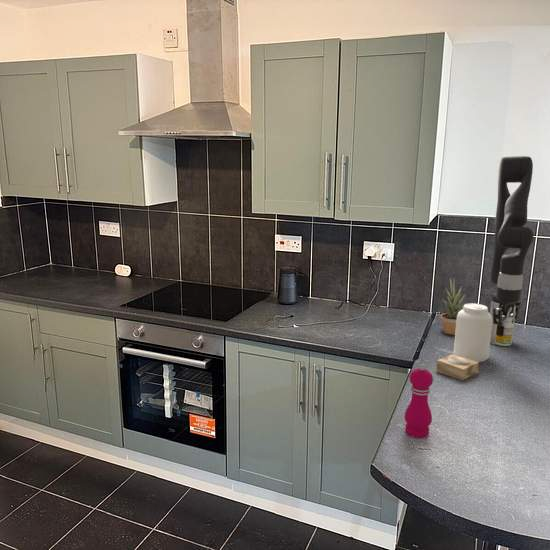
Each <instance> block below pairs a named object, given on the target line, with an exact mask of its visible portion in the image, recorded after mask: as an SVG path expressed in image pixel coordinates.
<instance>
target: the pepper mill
mask: <svg viewBox="0 0 550 550" xmlns="http://www.w3.org/2000/svg"><path fill="white" fill-rule="evenodd" d="M433 377H434V376H433V374H432V373H431V371H429V370H428V369H426V365H425V364H424V363H421V364H419V365H418V368H415V369H413V370H412V371H411V373H409V382H410V384H411V385H410V391H411V400H410V402H409V405H408V406H407V407H406V410H405V413H404V420H405V422H406V423H405V429H404V430H405V433H406V434H407V435H408V436H409V437H413V438H414V439H415V438H416V439H424V438H426V437H428V436H429V434H430V425H432V422H433V416H432V411H431V408H430V406H429V402H428V400H429V399H428V396H429V394H430V393H431V391H430V390H431V386H432V384H433V382H434V378H433Z"/></svg>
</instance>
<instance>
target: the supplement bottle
mask: <svg viewBox="0 0 550 550" xmlns="http://www.w3.org/2000/svg"><path fill="white" fill-rule="evenodd" d="M502 316H503V315H502ZM503 317H505V316H503ZM502 321H503V319H502ZM513 328H514V329H515V323H514V324H513V323H512V316H510V315H509V317H508V319H507V320H506V321H505V325H504V334H503V336H498V335H496V333H495V343H496V344H498V345H503V346H502V347H508V346H511V345H512V344H513V338H512V336H514V330H513ZM496 330H497V325H496ZM498 345H497V346H498Z"/></svg>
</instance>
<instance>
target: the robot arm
mask: <svg viewBox="0 0 550 550" xmlns="http://www.w3.org/2000/svg"><path fill="white" fill-rule="evenodd" d="M533 167H534V163H533V158H531V157H530V156H526V155H523V156H519V155H518V156H515V155H514V156H503V157H501V158H500V160H499V163H498V169H497V171H498V172H497V202H496V203H497V204H496V211H495V220H494V221H495V222H494V237H493V238H494V240H493V241H494V242H493V252H492V259H491V266H490V275H489V276H490V277H489V278H490V283H492V284H494V285H496V291H495V292H493V293H492V294H491V303H490V312H489V313H490V315H491V316H492V330H491V339H490V345H495V346H498V347H500V346H501V347H504V346H503V345H498V344H496V343H495V333H496V335H498V336H503V334H504V325H505V321H506V320H507V319H508V317H509V315H510V316H512V323H513V324H514V325H515V320H517V319H518V316H519V312H520V307H521V302H520V301H521V299H522V298H521V297H522V289H523V283H524V281H523V279H524V275H523V274H524V266H525V260H526V258H527V254H528V251H529V249H530V248H531V246H532V243H533V240H534V232H533V230H532V229H531V228H530V227H528V226H525V225H526V224H527V222H528V203H529V196H530V192H531V191H530V190H531V185H532V180H533V173H534V172H533V171H534V170H533V169H534V168H533ZM508 183H515V184H516V183H518V184H519V183H520V184H519V186H518V187H517V188H516V189H515V190H514V191H513V192H512V193H510V190H509V188H508ZM508 249H518V250H517V251H516V252H513V253H508V254H505V253H506V251H508ZM502 315H503V316H505V317H503V316H502ZM502 319H503V321H502ZM496 325H497V330H496ZM514 329H515V327H514V328H513V331H514ZM513 336H514V335H513ZM513 336H512V339H513V338H514V337H513Z"/></svg>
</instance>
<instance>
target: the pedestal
mask: <svg viewBox="0 0 550 550" xmlns="http://www.w3.org/2000/svg"><path fill="white" fill-rule="evenodd" d="M436 362H437V363H436V372H438V373H441V374H444V375H447V376H449V377H452V378H455V379H456V380H460V381H465V380H466V379H468V378H470V377H473V376H475V375H477V374H479V368H480V367H479V365H480V362H477V361H474V360H471V359H468V358H465V357H462V356H459V355H456V354H454V353H452V354H449V355H447V356H445V357H443V358H439V359H437V361H436Z"/></svg>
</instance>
